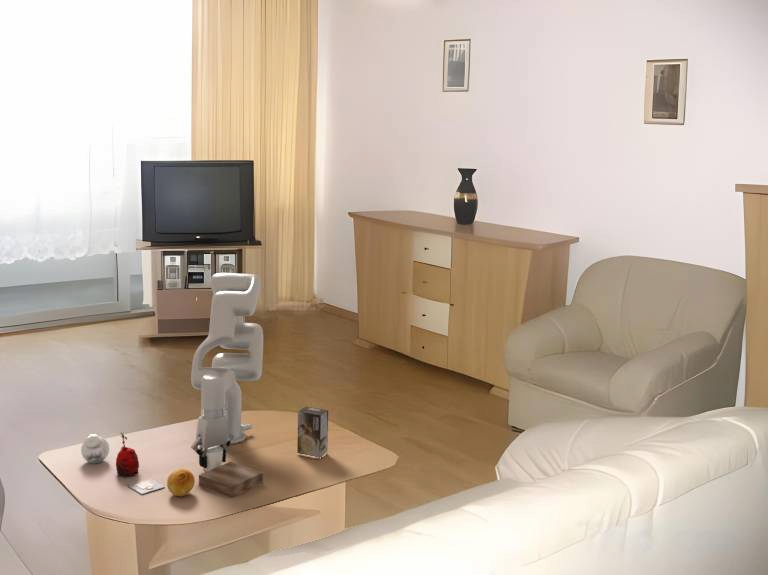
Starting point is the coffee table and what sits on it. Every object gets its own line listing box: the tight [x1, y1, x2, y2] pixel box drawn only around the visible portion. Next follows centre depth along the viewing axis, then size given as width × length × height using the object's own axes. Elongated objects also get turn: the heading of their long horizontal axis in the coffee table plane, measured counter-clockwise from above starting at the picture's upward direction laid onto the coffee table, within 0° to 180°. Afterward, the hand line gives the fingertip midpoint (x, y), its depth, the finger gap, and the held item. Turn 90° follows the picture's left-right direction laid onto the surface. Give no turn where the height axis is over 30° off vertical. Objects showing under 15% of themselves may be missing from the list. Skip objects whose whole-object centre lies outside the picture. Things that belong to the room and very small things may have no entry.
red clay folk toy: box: [115, 432, 140, 477], centre depth 281 cm, size 8×7×15 cm
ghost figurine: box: [80, 433, 110, 464], centre depth 290 cm, size 9×10×10 cm
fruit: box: [166, 468, 196, 497], centre depth 269 cm, size 8×8×8 cm
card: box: [127, 478, 165, 496], centre depth 273 cm, size 8×8×1 cm
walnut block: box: [198, 461, 264, 498], centre depth 278 cm, size 14×14×4 cm
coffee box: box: [296, 406, 329, 458], centre depth 304 cm, size 9×6×16 cm
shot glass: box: [202, 445, 223, 472], centre depth 289 cm, size 7×7×7 cm
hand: (212, 463), depth 289 cm, fingers closed on shot glass, 6 cm apart
